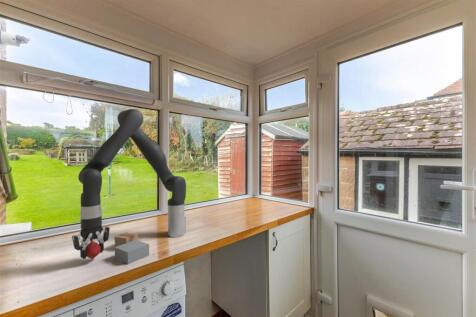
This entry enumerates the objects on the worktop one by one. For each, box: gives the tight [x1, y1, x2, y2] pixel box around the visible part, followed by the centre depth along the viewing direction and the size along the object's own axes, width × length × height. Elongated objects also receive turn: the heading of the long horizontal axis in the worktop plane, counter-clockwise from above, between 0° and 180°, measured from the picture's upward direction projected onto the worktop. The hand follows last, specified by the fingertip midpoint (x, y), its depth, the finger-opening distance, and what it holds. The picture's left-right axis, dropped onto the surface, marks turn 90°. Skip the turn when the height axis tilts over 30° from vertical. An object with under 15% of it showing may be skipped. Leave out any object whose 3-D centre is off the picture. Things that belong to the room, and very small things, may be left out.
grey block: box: [114, 239, 150, 265], centre depth 99 cm, size 10×10×5 cm
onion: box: [85, 239, 101, 260], centre depth 94 cm, size 6×6×8 cm
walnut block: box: [114, 231, 138, 248], centre depth 110 cm, size 7×7×6 cm
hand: (92, 255), depth 94 cm, fingers closed on onion, 6 cm apart
